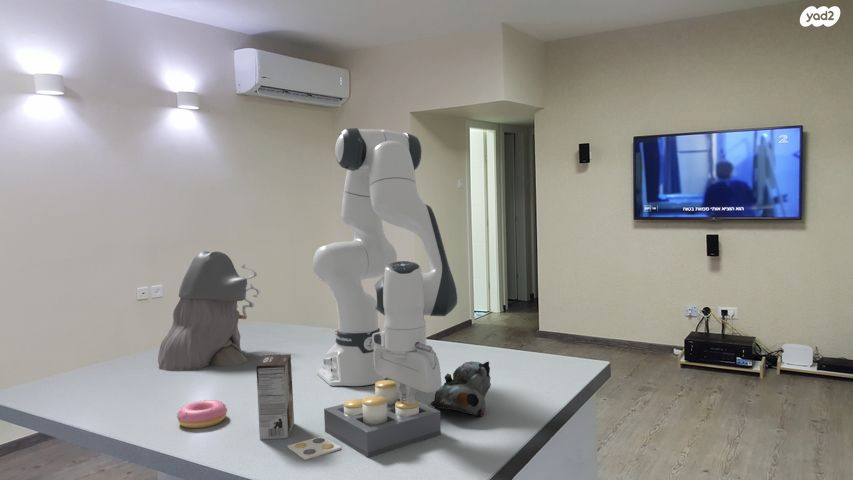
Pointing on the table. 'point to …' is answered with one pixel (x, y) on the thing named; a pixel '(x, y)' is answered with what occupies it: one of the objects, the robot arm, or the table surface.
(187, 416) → the doughnut
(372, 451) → the board
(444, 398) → the lucky cat figurine
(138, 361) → the table surface
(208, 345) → the bust
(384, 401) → the button
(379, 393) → the button
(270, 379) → the coffee box
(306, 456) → the card
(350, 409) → the button
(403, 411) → the button
